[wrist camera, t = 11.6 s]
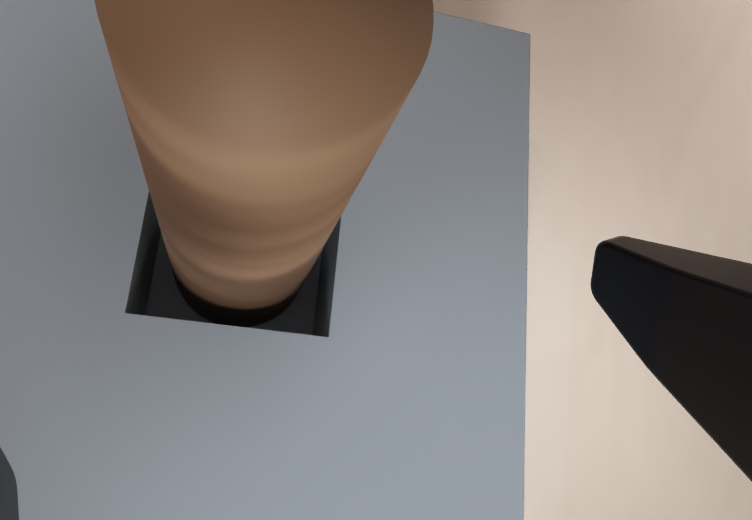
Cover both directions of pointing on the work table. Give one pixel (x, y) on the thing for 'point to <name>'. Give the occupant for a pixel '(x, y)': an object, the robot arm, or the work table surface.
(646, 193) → the work table surface
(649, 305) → the robot arm
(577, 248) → the work table surface
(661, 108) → the work table surface
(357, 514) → the hole block
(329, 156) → the pin
